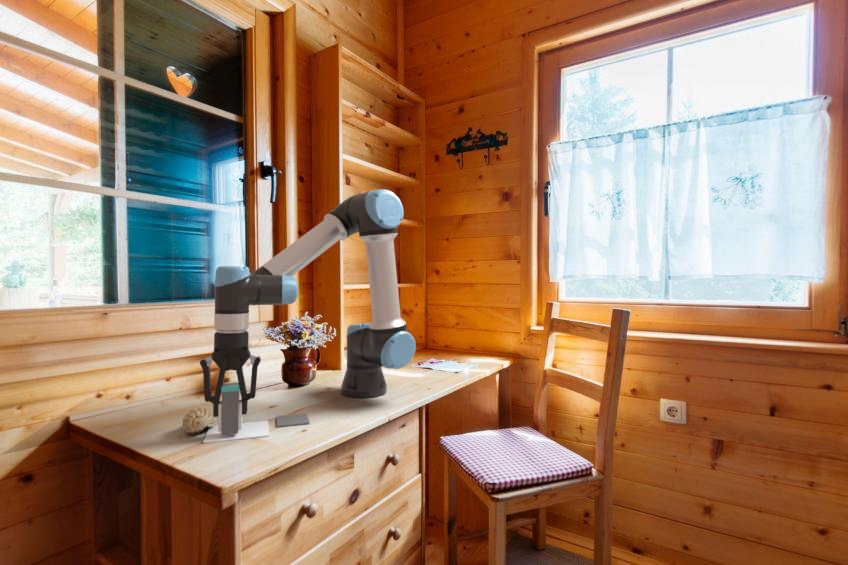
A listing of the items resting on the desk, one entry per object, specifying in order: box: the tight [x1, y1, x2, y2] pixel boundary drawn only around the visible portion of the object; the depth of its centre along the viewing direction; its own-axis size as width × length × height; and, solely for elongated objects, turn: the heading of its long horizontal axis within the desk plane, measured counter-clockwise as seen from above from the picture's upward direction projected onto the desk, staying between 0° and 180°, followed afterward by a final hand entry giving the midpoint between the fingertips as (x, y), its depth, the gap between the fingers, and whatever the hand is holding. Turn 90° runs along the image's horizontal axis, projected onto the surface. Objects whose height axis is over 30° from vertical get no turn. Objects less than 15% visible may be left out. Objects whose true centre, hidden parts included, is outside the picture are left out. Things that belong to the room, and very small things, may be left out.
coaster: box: [275, 413, 310, 428], centre depth 115 cm, size 8×8×1 cm
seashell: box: [182, 408, 215, 435], centre depth 107 cm, size 8×6×10 cm
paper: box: [202, 420, 270, 444], centre depth 106 cm, size 14×11×1 cm
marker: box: [221, 381, 240, 435], centre depth 103 cm, size 4×4×11 cm
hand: (230, 428), depth 103 cm, fingers closed on marker, 4 cm apart
